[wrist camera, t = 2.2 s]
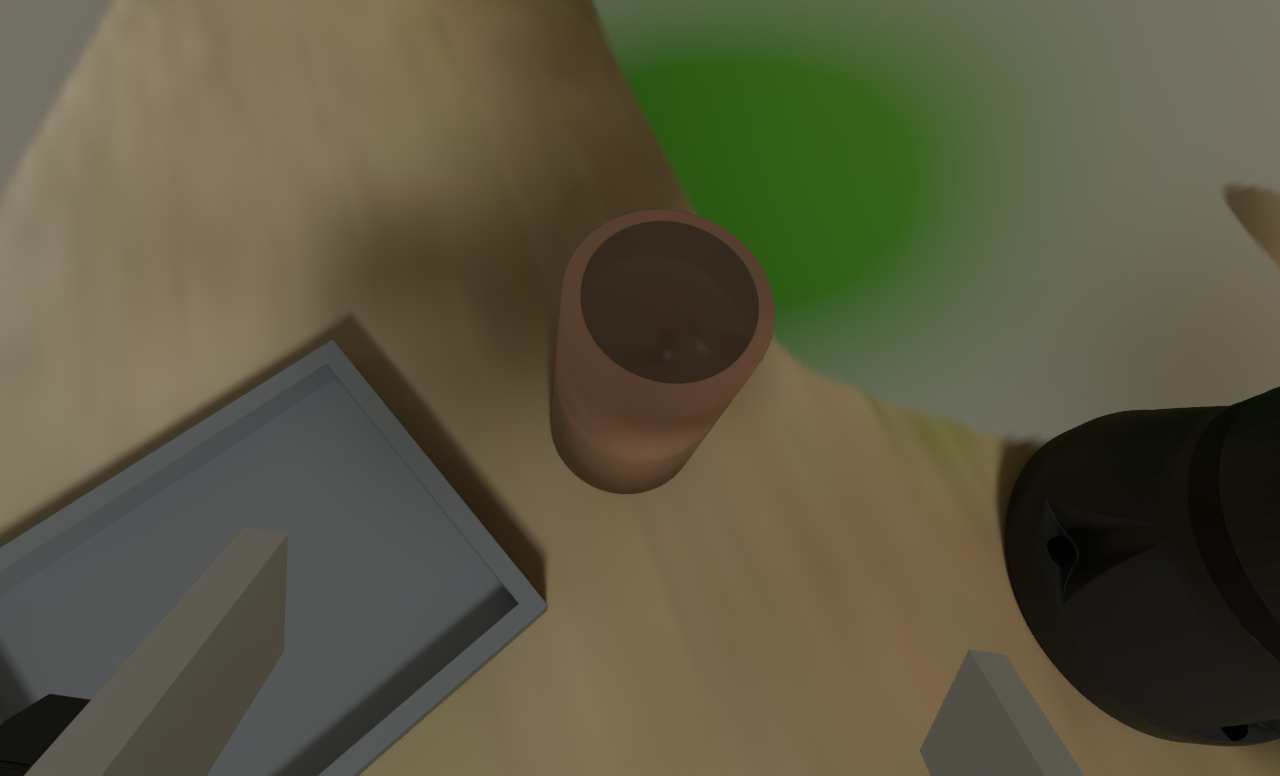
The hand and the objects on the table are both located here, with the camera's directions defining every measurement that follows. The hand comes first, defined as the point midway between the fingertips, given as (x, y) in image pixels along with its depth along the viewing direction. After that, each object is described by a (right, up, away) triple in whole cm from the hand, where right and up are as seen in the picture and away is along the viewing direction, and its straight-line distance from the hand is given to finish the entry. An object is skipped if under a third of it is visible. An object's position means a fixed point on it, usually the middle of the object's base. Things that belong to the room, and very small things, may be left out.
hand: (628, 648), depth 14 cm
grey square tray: (-15, -4, +15) cm, 22 cm away
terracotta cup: (0, +3, +21) cm, 21 cm away
